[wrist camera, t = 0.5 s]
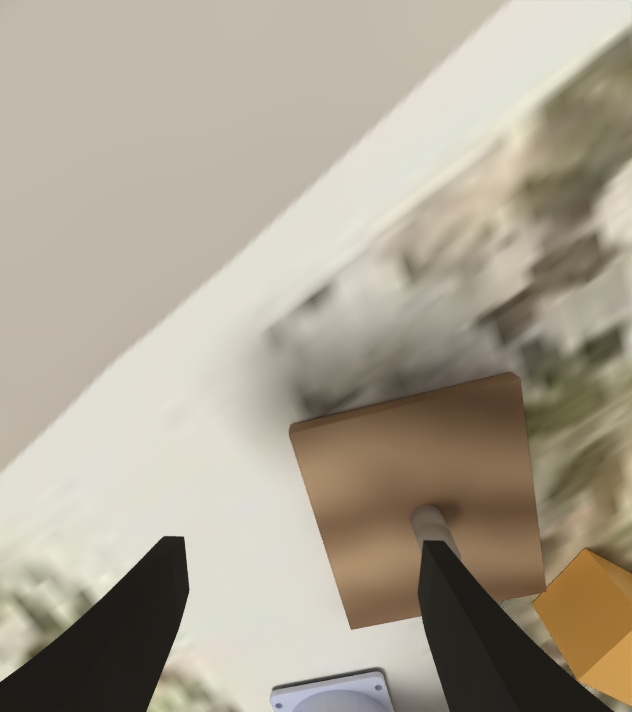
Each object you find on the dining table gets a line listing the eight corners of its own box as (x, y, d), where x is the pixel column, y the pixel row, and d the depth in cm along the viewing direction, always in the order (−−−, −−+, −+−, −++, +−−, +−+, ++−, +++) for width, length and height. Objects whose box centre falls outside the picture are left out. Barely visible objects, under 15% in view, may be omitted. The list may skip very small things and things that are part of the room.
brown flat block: (537, 577, 24) (579, 641, 20) (349, 614, 25) (355, 682, 21) (510, 372, 20) (555, 402, 16) (290, 425, 21) (283, 465, 17)
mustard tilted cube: (646, 581, 24) (718, 655, 20) (592, 633, 25) (648, 714, 21) (584, 548, 23) (645, 618, 19) (531, 603, 25) (577, 680, 20)
